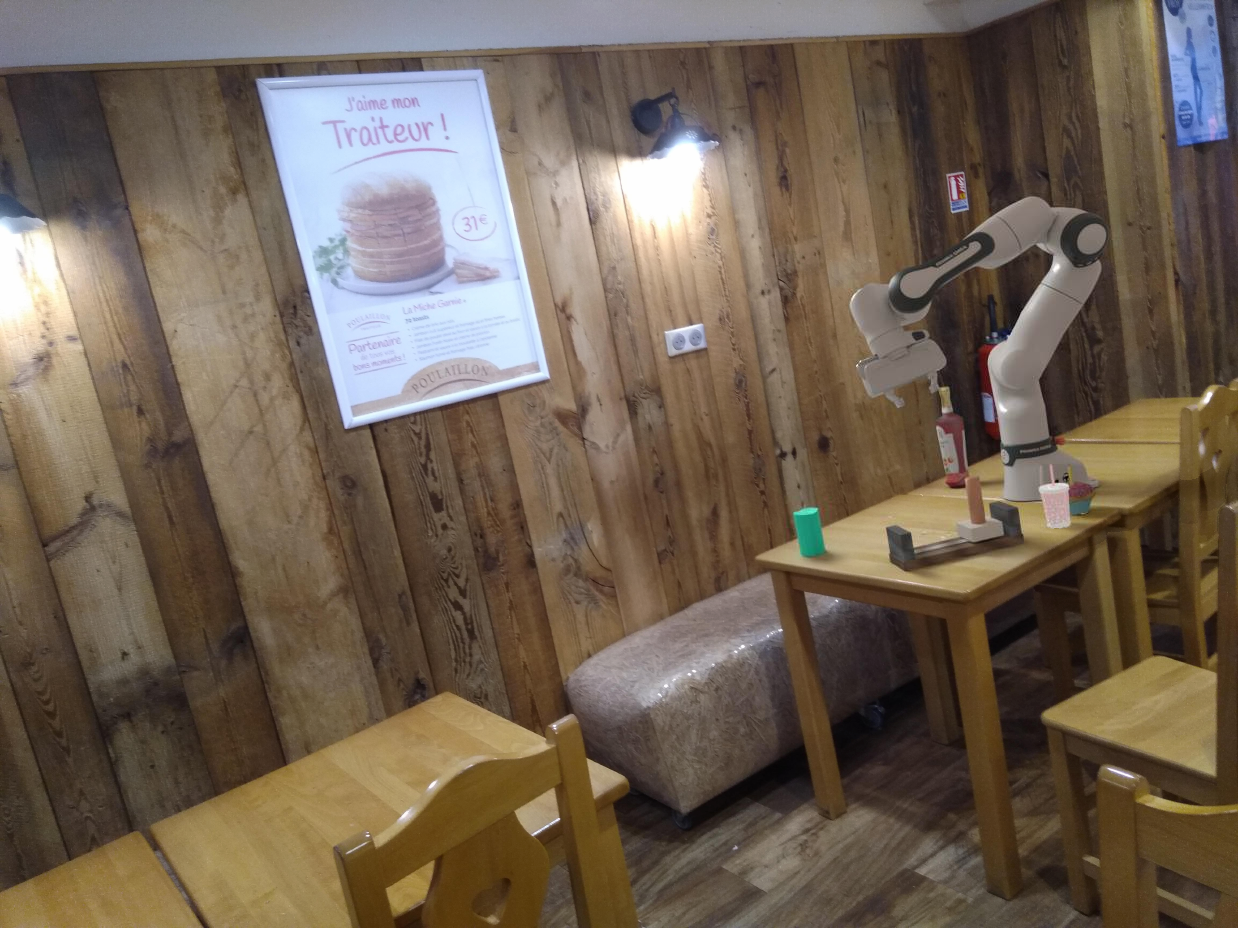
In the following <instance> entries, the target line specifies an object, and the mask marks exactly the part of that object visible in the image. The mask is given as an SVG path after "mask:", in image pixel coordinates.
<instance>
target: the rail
mask: <svg viewBox="0 0 1238 928" xmlns="http://www.w3.org/2000/svg"><path fill="white" fill-rule="evenodd" d="M988 507H989V513H990V517H991V518H994V519H996V520H999V521H1001V522H1002V525H1003V532H1004V535H1002V536H998V537H994V538H989V539H985V540H981V541H977V542H971V541H969V540H967V539H965V538H963V537H960V536H957V537H954V538H949V539H945V540H941V541H936V542H932V543H928V544H924V545H919V546H918V545H917V546H915V547H914V544H913V543H914V542H913V537H912V536H913V535H912V532H911V531H909V530H907V529H905V528H903V527H901V526H899V525H897V524H895V525H890V526H886V527H885V531H886V538H887V543H888V549H889V552H888V556H889V562H890V563H891V564H893V565H894V566H895V567H897V568H899V569H901V570H902V571H903V572H908V571H912V570H916V569H919V568H924V567H928V566H932V565H937V564H940V563H941V564H942V563H944V562H945V563H946V562H949V561H953V560H958V559H959V560H960V559H962V558H966V557H970V556H975V555H979V554H983V553H988V552H991V551H995V550H1001V549H1005V548H1009V547H1014V546H1017V545H1022V544H1025V536H1024V533H1023V531H1022V525H1021V519H1020V511H1019V507H1017V506H1014V505H1012V504H1009V503H1006V502H1003V501H1001V500H998V501H994V502H993V501H992V502H989V503H988Z"/></svg>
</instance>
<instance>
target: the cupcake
mask: <svg viewBox="0 0 1238 928" xmlns="http://www.w3.org/2000/svg"><path fill="white" fill-rule="evenodd" d="M1068 465H1069V464H1068ZM1068 472H1069V478H1070V482H1068V483H1066V484H1068V485H1069V490H1068V494H1069V510H1070V514H1081V513H1086V512H1088V511H1089V512H1090V508H1091V504H1092V501H1093V499H1094V497H1095V496H1096V492H1095V491H1096V490H1095V487H1094V488H1093V486H1091V485H1089V484H1086V483H1083V482H1073V476H1072V470H1071V467H1070V465H1069V467H1068ZM1089 512H1088V513H1089ZM1086 514H1087V513H1086Z"/></svg>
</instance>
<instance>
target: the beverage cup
mask: <svg viewBox="0 0 1238 928" xmlns="http://www.w3.org/2000/svg"><path fill="white" fill-rule="evenodd" d="M1050 472H1051V479H1052V484H1046V485H1043V486H1040V487H1039V492H1040V493H1041V497H1042V500H1041V501H1042V506H1043V510H1044V516H1045V519H1046V525H1047V528H1049V527H1050V528H1049V529H1054V528H1059V529H1064V528H1063V527H1065V528H1068V527H1070V526H1071V515H1070V510H1069V494H1068V490H1069V485H1068V484H1065V483H1054V476H1053V469H1052V464H1051V465H1050ZM1069 525H1070V526H1069ZM1067 526H1068V527H1067Z"/></svg>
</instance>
